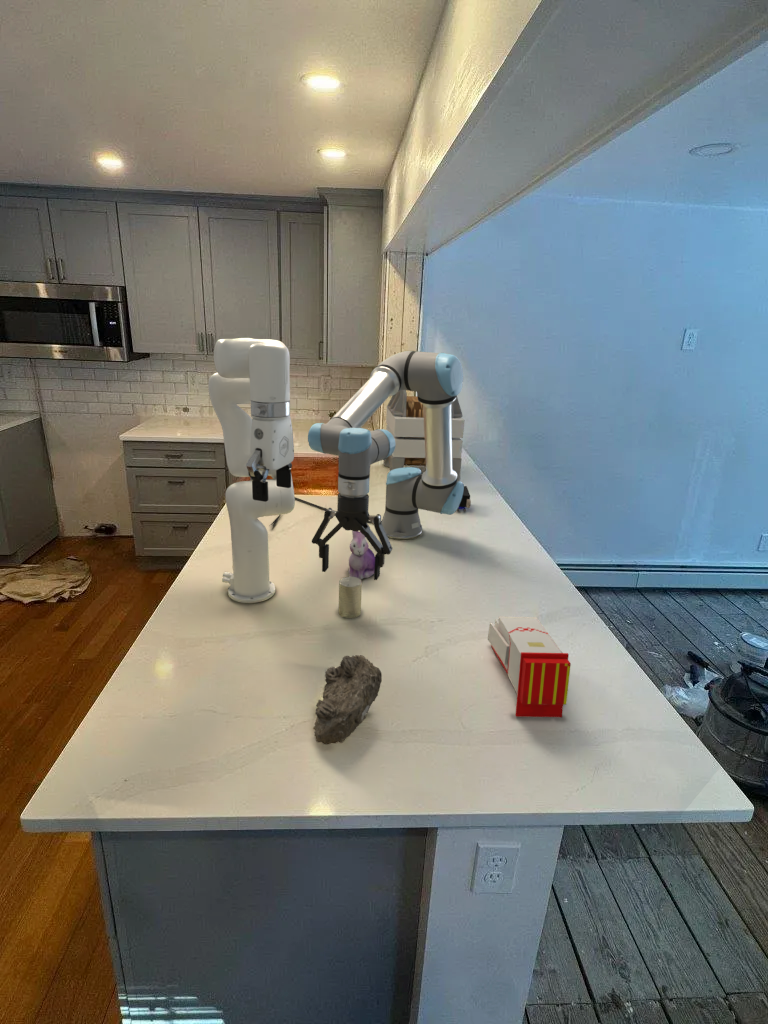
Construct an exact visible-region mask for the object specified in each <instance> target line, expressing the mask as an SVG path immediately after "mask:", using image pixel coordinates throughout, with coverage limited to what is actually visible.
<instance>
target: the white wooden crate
mask: <svg viewBox="0 0 768 1024" xmlns="http://www.w3.org/2000/svg"><path fill="white" fill-rule="evenodd" d="M407 394H408V393H407V390H401V391H398V392H397V393H396V394H395V395H393V396H391V398H390V400H389V402H388V404H387V405H386V413H385V414H386V415H385V423H386V428H385V430H387V431H389V432H390V433H391V434H392V435H393V437H394V439H395V450H394V452H393V453H392V454H391V455H390V456H389V457H387V458H386V459H384V460H383V466H384V467H388V468H389V472H390V471H391V470H393V469H397V468H404V467H405V466H406V467H410V466H411V467H417V466H418V467H426V458H425V438H424V417H423V405H422V404H421V403H420V402H419V401H418V396H417V395H416V396H415V395H414V396H413V395H412V396H411V395H407ZM451 419H452V469H453V470H454V471H455V472H456V473H457V481H461V472H462V461H463V460H462V453H463V442H464V441H463V440H462V439H463V438H464V431H465V430H464V429H465V419H464V418H463V411H462V408H461V405H460V402H459V398H458V395H457V396H456V399H455V400H454V401H453V402H452V403H451Z"/></svg>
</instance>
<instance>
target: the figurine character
mask: <svg viewBox="0 0 768 1024" xmlns="http://www.w3.org/2000/svg"><path fill="white" fill-rule="evenodd" d="M471 501H472V500H471V494H470V491H469V488H468V486H467V485H464V491H463V496H462V499H461V502H460V504H459V507H458V509H457V510H456V511H457V512H460V510H463V511H464V513H466V512H467V509H470V508H471V505H472V504H471ZM466 508H467V509H466Z"/></svg>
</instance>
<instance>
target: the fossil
mask: <svg viewBox="0 0 768 1024" xmlns="http://www.w3.org/2000/svg"><path fill="white" fill-rule="evenodd" d="M324 673H325V675H324V677H325V679H324V681H325V684H324V687H323V692H322V700H321V699H318V700H317V702H316V705H315V706H316V707H317V708H316V709H315V711H316V712H315V716H316V717H315V721H314V726H313V728H312V729H313V730H314V737H315V741H316V742H317V743H322V744H323V745H325V746H327V745H331V744H337V743H339V744H342V743H344V742H345V741H346V740H347V739H348V738H349V737H350V736H351V735H352V734H353V733H354V732H355V731H356V730H357V728H358V727H359V726H360V725H361V724H363V722H364V720H365V719H366V717H367V714H369V711H370V709H371V707H372V705H373V702H376V699H377V697H379V692H380V689H381V685H382V679H383V678H382V677H383V675H382V672H381V670H380V668H379V667H378V666H375V665H374V663H373V662H371V661H370V660H369V659H368V658H366V657H365V656H364V655H362V654H360V655H358V654H356V655H352V656H350V655H344V656H343V657H342V659H341V661H340V664H339V666H336V667H335V666H331V667H328V668H326V670H325V672H324Z"/></svg>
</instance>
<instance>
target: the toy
mask: <svg viewBox="0 0 768 1024" xmlns="http://www.w3.org/2000/svg"><path fill="white" fill-rule="evenodd" d="M488 625H489V627H488V633H487V641H488V642H489V644H490V646H491V647H490V648H491V649H492V650H493V652H494V654H495V656H496V658H497V659H498V660H499V662H500V664H501V666H502V668H503V669H504V671H505V673H506V674H507V676H508V678H509V680H510V682H511V685H512V686H513V689H514V690H515V693H516V704H515V717H516V718H517V717H518V718H519V717H520V718H521V717H522V718H563V710H564V705H567V701H568V692H569V685H570V684H569V683H570V676H571V675H570V674H571V666H572V664H571V661H570V660H569V655H570V654H569V653H568V652H563V651H562V649H561V648H560V647H559V646H558V644H557V643H556V642H555V640H554V639H553V638H552V636H551V635H550V634H549V632H548V631H547V629H546V628H545V627H544V626H543V624H542V622H541V621H540V620H539V619H538V618H537V616H498V618H496V619H494V623H493V622H489V624H488Z"/></svg>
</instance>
